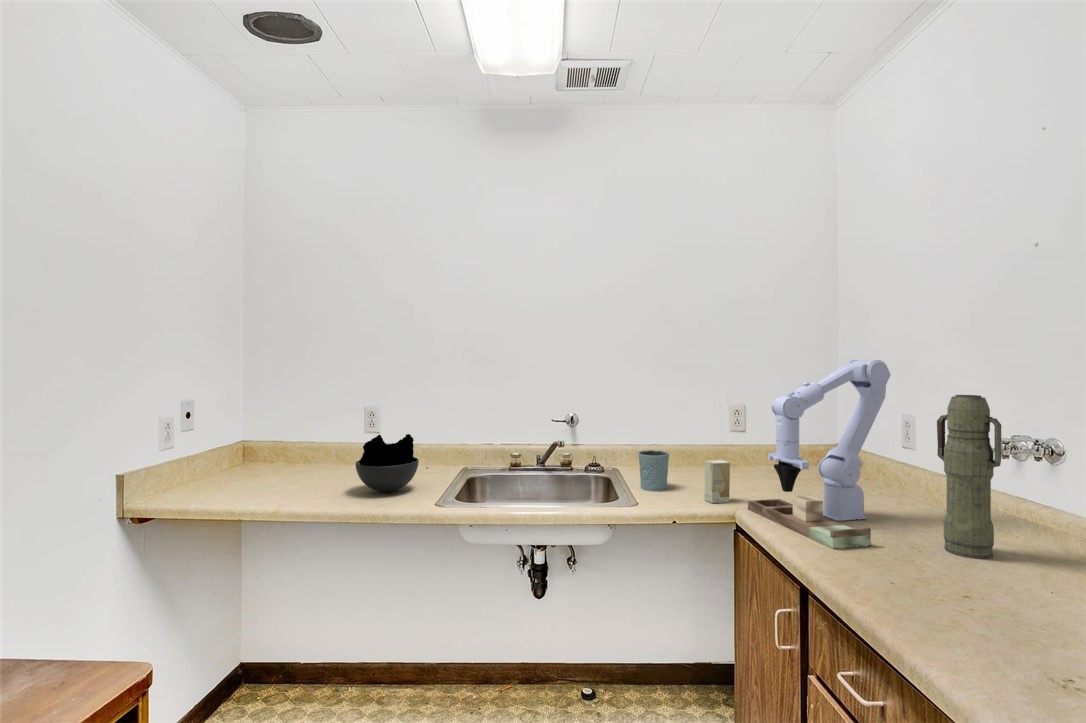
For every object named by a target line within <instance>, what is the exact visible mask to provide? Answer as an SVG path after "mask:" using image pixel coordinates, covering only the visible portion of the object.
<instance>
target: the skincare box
mask: <svg viewBox="0 0 1086 723" xmlns="http://www.w3.org/2000/svg"><path fill="white" fill-rule="evenodd" d="M730 476H731V462H729V461H727V460H723V459H718V460H717V459H716V460H705V461H704V501H706V502H708V503H710V504H720V503H721V504H723V503H730V482H731V480H730V478H731V477H730Z"/></svg>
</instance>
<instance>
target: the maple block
mask: <svg viewBox="0 0 1086 723" xmlns="http://www.w3.org/2000/svg"><path fill="white" fill-rule="evenodd" d="M792 504H793V516H794V517H796V518H799V519H801V520H803V521H806V522H807V521H820V520H823V511H824V499H821V498H817V497H814V496H812V495H803V496H802V495H800V496H797V495H796V496H792Z"/></svg>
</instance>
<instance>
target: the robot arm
mask: <svg viewBox="0 0 1086 723" xmlns="http://www.w3.org/2000/svg"><path fill="white" fill-rule="evenodd" d="M890 378H891V372H890V370H889V367H888V365H887V364H886V362H884V361H883V360H881V359H873V360H871V359H870V360H869V359H867V360H859V359H852V360H850V361H848V362H846V363H843V364H842V365H841V367H839V368H838V369H836V370H835V371H833V372H832V373H830V374H829V375H827V376H826V377H823V378H822V379H821V380H820V381H818V382H817V383H816V382H813V381H805V382H803V383H802V386H800V387H798V388H797V389H795V390H793V391H792V390H790V391H789V392H788V393H787V395H786V396H785V395H784V396H783V395H782V396H781V395H780V396H778V397H776V399H775V401H774V402H773V404H772V405H771V410H772V411H771V412H772V414H774V415H775V426H776V427H775V430H776V431H775V441H776V442H775V452H768V453H767V459H768V461H774V462H778V463H776V464H775V463H774V464H773V468H774V469H775V472H776V474H777V475H778V478H779V482H780V486H781V489H782V492H785V493H792V492H793V490H794V487H795V483H796V480H797V477H798V475H799V474H800V472H801V471H802V470H810V462H809V461H808V460H805V459H803V458H802V457H800V418H801V417H802V416H803V415H804V413H805V411H806V410H807V409H810V408H811V407H813V406H815V405H817V404H818V403H819V402H821V401H823V400H824V398H825V395H826V393H829V392H831V391H832V390H834V389H836V388H839V387H841V386H842V385H844V384H846V383H848V382H850V383H851V385H852V386H853V387H854V388H855V389H856V392H858V394H859V399H858V401H857V404H856V405H855V408H854V409H853V412H852V414H851V416H850V418H849V421H847V422H848V423H847V424H846V426H845V429H844V430H843V433H842V435H841V437H840V438H839V441H838V444H837V445H836V446H835V447H833V448H831V449H830V450H828V451H827V453H826V455H825V456H824V457H823V458H822V459H821V460H820V461H819V463H818V464H817V471H818V474H819V475H820V476H821V477H822V482H823V516H824V517H826V518H829V519H831V520H834V521H836V522H840V521H843V522H844V521H853V520H854V521H856V519H857V520H867V516H865V494H864V491H863V489H862V487H861V486H860V485H859V484H857V483H858V482H859V480H860V478H861V468H862V465H863V461H862V460H861V458H860V456H859V454H860V452H861V450H862V448H863V446H864V444H865V441H866V439H867V438H868V435H869V433H870V431H871V429H872V426H873V425H874V423H875V420H876V418H877V417H878V414H879V412H880V410H881V408H882V405H883V403H884V401H885V399H886V392H887V391H886V390H887V384H888V381H889V380H890Z"/></svg>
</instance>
